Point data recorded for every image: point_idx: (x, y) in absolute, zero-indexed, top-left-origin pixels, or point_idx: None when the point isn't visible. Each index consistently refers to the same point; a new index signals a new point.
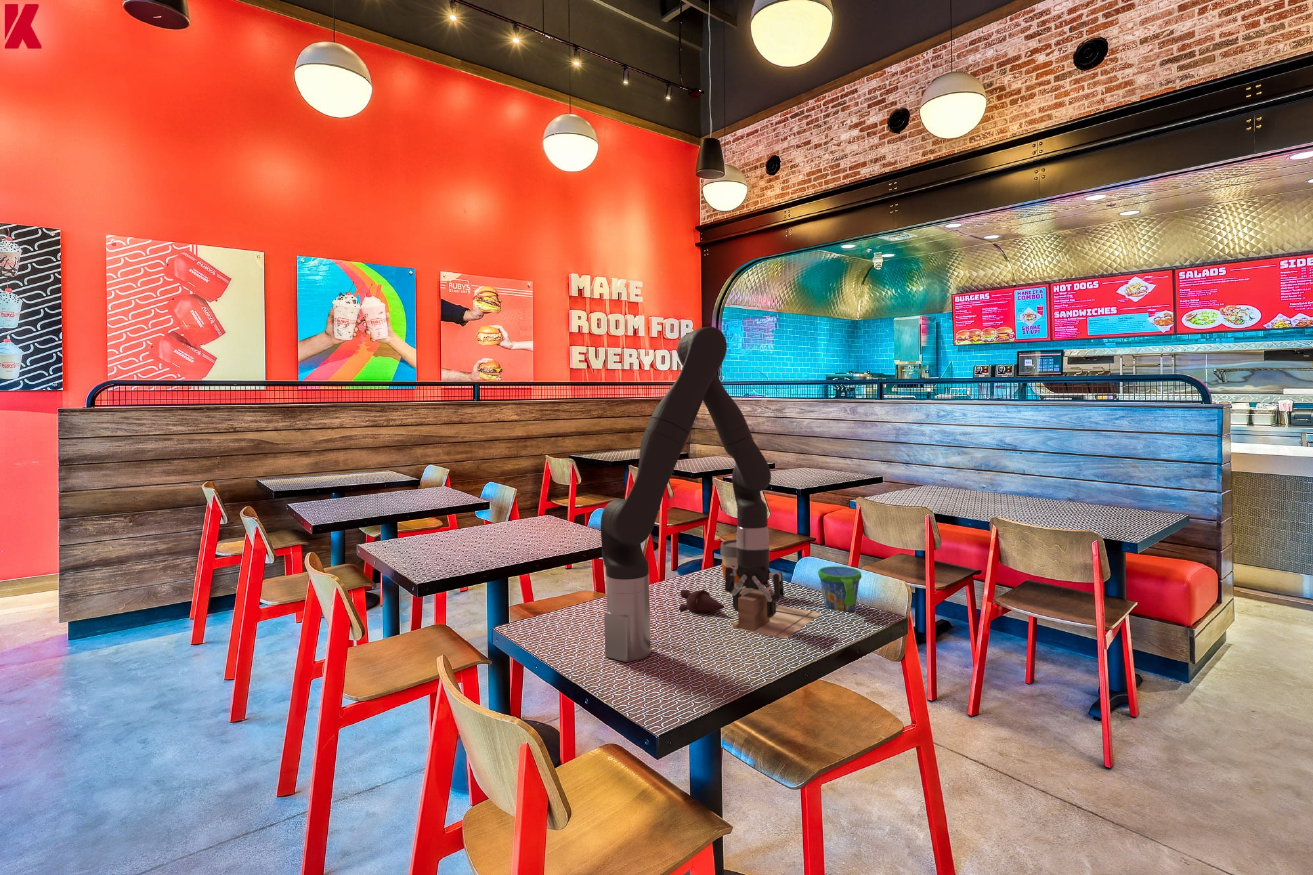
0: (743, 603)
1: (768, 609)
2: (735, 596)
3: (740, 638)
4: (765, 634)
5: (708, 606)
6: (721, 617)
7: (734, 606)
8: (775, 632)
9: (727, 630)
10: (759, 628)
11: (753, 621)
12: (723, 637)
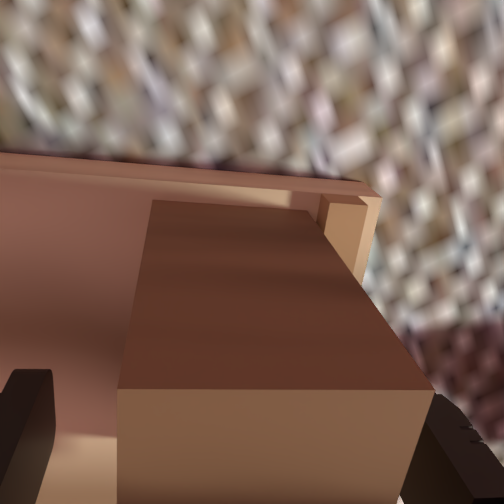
0: (311, 343)
1: (3, 428)
2: (492, 495)
3: (249, 116)
4: (15, 167)
5: None
6: (496, 416)
7: (441, 407)
8: None
9: (400, 233)
10: None
11: (150, 233)
12: (386, 72)
